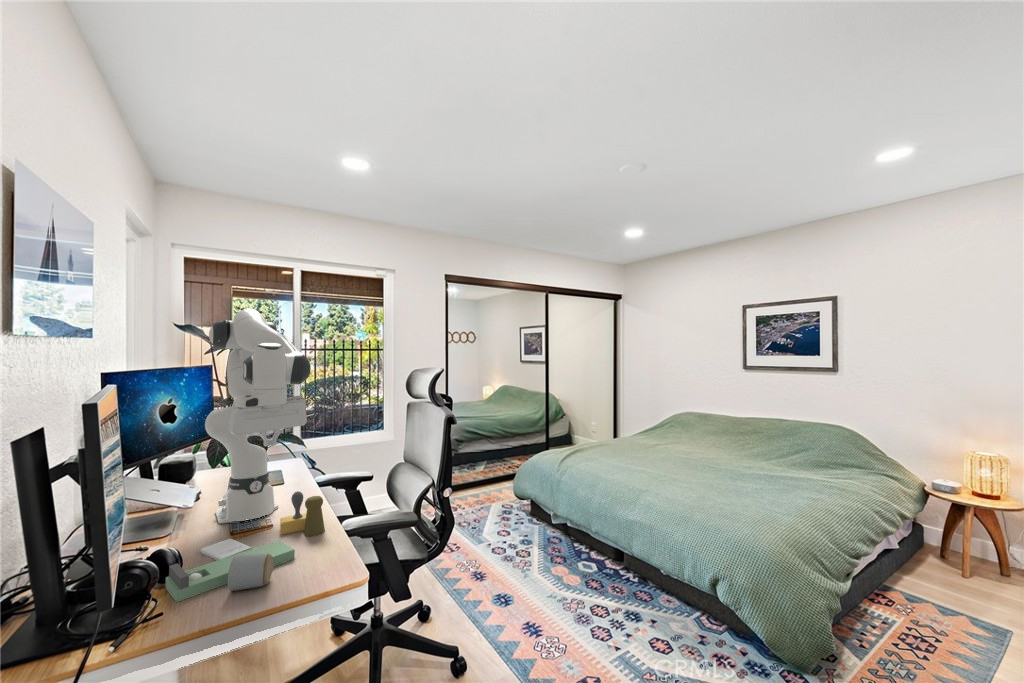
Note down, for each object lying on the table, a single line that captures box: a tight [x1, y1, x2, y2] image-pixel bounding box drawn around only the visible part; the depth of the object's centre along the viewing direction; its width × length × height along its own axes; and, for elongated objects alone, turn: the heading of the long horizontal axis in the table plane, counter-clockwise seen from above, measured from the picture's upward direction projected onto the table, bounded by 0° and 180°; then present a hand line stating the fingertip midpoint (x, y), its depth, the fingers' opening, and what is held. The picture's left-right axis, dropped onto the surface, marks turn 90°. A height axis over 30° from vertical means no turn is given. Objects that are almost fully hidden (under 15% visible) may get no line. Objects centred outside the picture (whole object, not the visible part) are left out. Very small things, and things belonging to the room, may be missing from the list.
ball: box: [189, 573, 202, 582], centre depth 103 cm, size 3×3×3 cm
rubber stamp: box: [279, 490, 307, 536], centre depth 138 cm, size 10×6×12 cm, turn 119°
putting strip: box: [165, 539, 296, 603], centre depth 110 cm, size 10×26×5 cm, turn 140°
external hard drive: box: [199, 538, 253, 561], centre depth 122 cm, size 2×8×12 cm
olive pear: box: [303, 495, 326, 537], centre depth 135 cm, size 6×6×11 cm
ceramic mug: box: [227, 553, 274, 592], centre depth 104 cm, size 11×8×8 cm
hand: (270, 445), depth 125 cm, fingers closed
